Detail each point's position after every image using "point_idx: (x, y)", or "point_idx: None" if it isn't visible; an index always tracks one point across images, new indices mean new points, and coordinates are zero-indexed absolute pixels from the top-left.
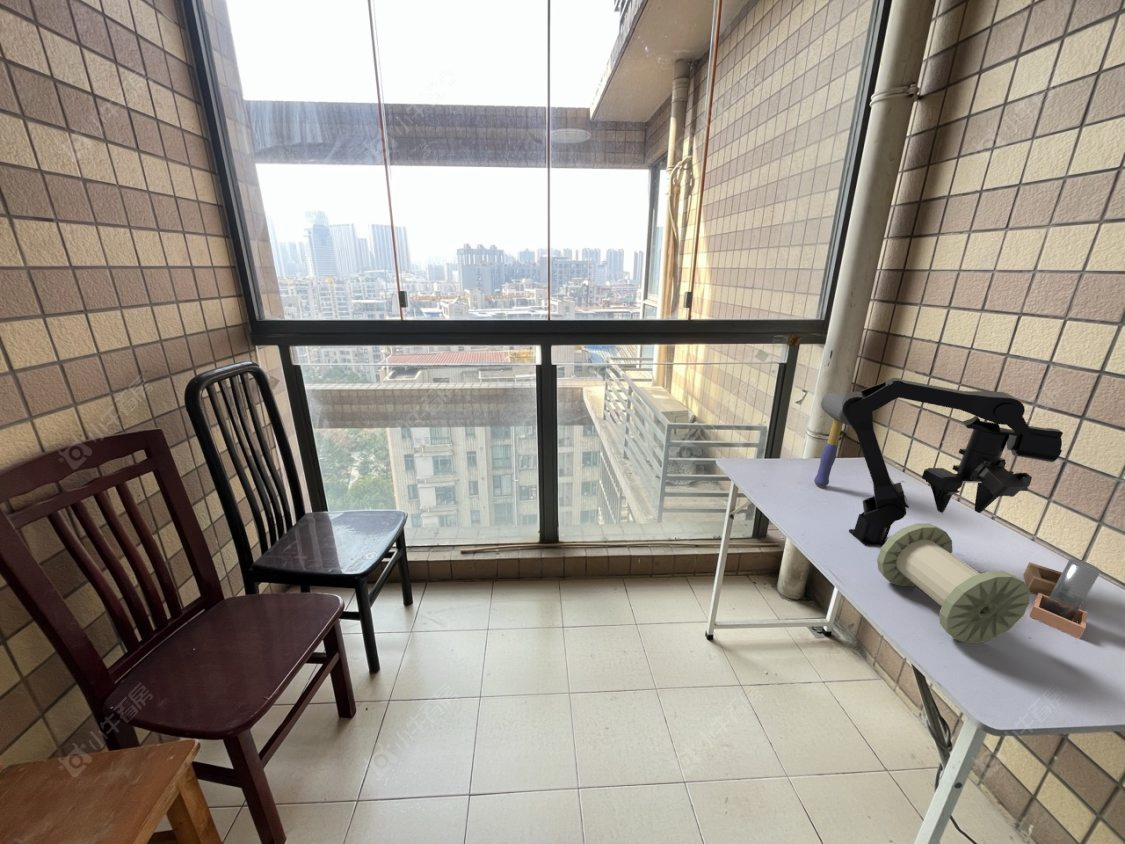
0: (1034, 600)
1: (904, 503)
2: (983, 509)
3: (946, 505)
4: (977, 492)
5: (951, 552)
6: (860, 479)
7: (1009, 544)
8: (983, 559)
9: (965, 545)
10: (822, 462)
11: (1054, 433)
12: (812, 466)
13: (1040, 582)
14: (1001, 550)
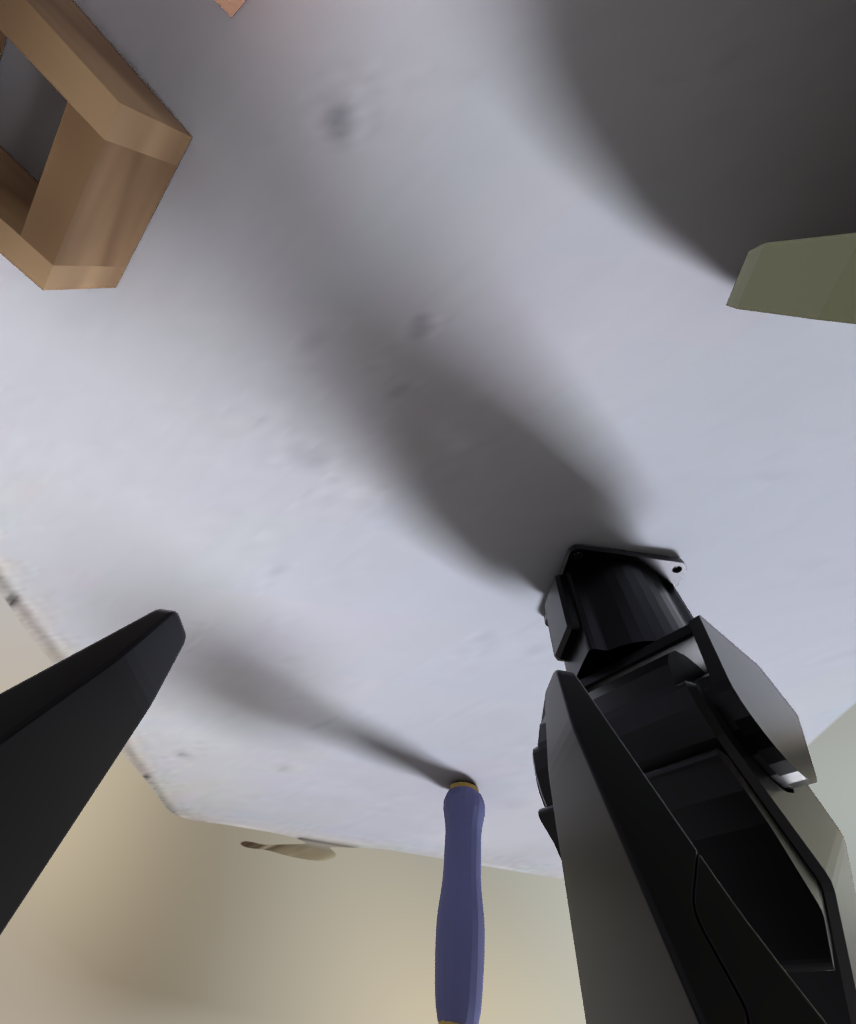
0: (225, 7)
1: (753, 798)
2: (117, 637)
3: (603, 767)
4: (34, 868)
5: (852, 235)
6: (304, 780)
7: (39, 480)
8: (223, 413)
9: (227, 500)
10: (482, 904)
11: None
12: (396, 831)
13: (98, 71)
14: (98, 454)
